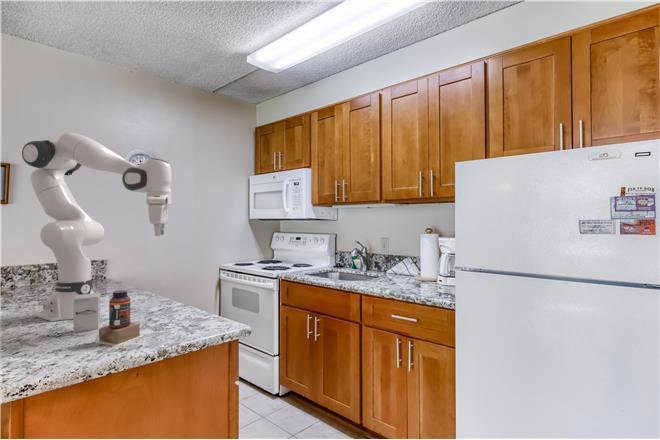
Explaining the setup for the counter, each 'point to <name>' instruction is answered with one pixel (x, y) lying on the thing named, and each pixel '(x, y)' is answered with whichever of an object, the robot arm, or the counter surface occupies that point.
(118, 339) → the block
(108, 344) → the build board
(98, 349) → the counter surface
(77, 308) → the supplement box
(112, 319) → the supplement bottle
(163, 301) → the counter surface
